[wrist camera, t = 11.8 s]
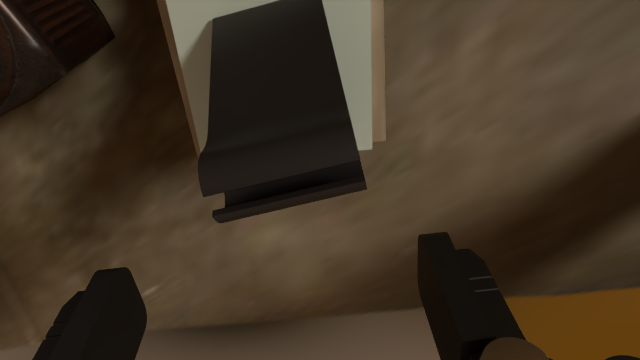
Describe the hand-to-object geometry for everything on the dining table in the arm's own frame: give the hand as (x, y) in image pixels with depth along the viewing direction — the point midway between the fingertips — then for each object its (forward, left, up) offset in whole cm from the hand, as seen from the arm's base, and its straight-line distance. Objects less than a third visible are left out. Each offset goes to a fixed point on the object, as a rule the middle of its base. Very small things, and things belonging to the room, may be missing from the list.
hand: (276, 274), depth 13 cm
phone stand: (0, 0, -17) cm, 17 cm away
